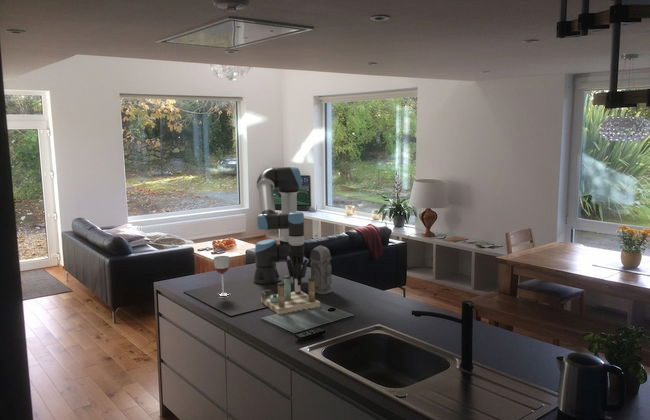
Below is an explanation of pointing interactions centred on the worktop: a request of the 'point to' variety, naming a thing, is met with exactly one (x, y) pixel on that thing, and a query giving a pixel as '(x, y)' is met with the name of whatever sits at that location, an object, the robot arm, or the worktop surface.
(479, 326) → the worktop surface
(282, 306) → the stool
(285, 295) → the folding leg
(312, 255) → the figurine
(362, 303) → the worktop surface
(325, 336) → the worktop surface
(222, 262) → the wineglass
